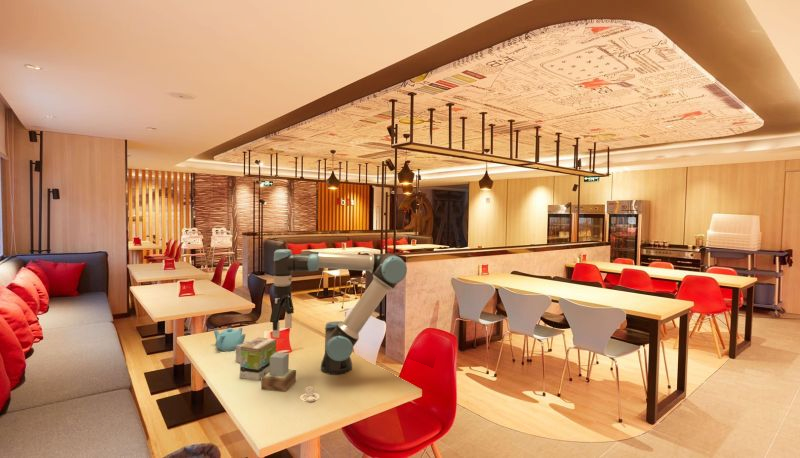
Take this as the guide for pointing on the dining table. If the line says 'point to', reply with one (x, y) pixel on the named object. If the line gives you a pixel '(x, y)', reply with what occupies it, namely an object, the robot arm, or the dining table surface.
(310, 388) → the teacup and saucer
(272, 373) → the block
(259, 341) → the tea box
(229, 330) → the teapot
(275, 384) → the plinth
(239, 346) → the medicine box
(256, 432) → the dining table surface
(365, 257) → the robot arm
